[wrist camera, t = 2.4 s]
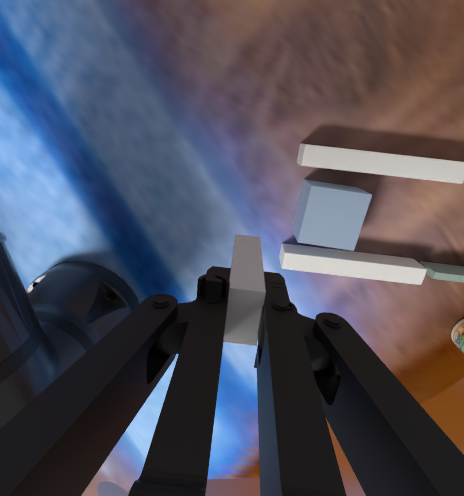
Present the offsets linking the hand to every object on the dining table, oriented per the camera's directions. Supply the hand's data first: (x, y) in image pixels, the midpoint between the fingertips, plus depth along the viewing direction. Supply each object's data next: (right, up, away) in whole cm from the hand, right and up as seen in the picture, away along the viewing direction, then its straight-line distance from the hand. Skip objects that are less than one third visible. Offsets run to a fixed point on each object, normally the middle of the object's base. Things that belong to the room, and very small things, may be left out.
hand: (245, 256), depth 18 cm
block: (+10, +5, +15) cm, 19 cm away
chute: (+14, +5, +15) cm, 21 cm away
